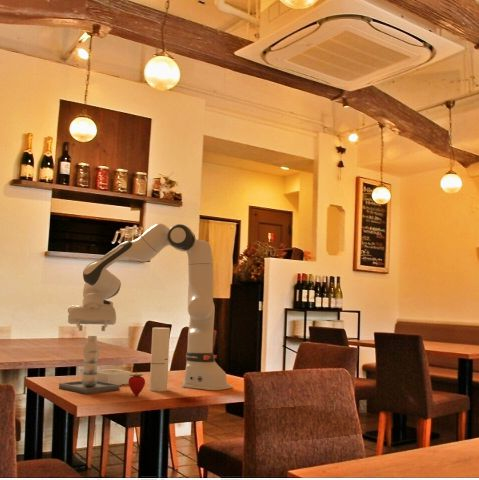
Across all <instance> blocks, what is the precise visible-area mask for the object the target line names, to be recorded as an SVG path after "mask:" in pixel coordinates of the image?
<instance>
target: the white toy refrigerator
mask: <svg viewBox="0 0 479 480" xmlns="http://www.w3.org/2000/svg"><path fill="white" fill-rule="evenodd" d="M170 330H171V329H170V327H152V331H151V348H150V353H151V354H150V374H149V390H148V391H151V392H166V391H168V380H169V352H170V334H171V333H170Z"/></svg>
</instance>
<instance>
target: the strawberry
mask: <svg viewBox="0 0 479 480" xmlns="http://www.w3.org/2000/svg"><path fill="white" fill-rule="evenodd" d="M135 371H136V373H134V374H131V375H130V376H131V377H130V378H129V384H128V387H129V389H130V390H131V392H132V393H133V395H134V396H135V397H138V396H139V395H140V393H142V390H143V389H144V388H145V386H146V385H145V384H146V379H145V378H144V377H143V376H144V374H142V373H141V374H140V373H139V374H138V371H137V370H135Z"/></svg>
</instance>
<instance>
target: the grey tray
mask: <svg viewBox="0 0 479 480" xmlns="http://www.w3.org/2000/svg"><path fill="white" fill-rule="evenodd" d="M120 386H121V385H118V384H113V383H108V382H102V381H98V383H97V385H95V386H91V387H88V386H84V385H83V384H82V380H77V381H68V382H67V381H66V382H59V383H58V389H59V390H60V389H61V390H65V391H71V392H76V393H79V394H84V395H88V394H89V395H90V394H91V395H92V394H97V393H105V392H113V391H119V390H120Z"/></svg>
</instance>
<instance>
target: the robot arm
mask: <svg viewBox="0 0 479 480" xmlns="http://www.w3.org/2000/svg"><path fill="white" fill-rule="evenodd" d="M168 246H171V247H173V248H174V249H175V250H177V251H180V252H186V254H187V258H188V260H187V261H188V262H187V263H188V264H187V265H188V267H187V269H188V273H187V274H188V288H187V313H188V314H189V325H188V330H187V331H188V332H187V350H186V353H185V361H186V363H185V364H186V365H185V371H184V375H183V381H182V384H181V385H182V387H183V388H189V389H198V390H207V391H221V390H228V389H232V388H233V385H232V384H229V383H228V381H227V379H228V378H227V377H228V376H227V373H226V371H224V370H223V368H222V367H220V366H219V365H218V363H217V362H216V359H217V358H218V357H217V356H218V355H217V354H214V352H213V345H214V344H213V343H214V341H213V340H214V328H215V327H214V326H215V313H216V312H215V308H216V307H215V303H214V260H213V259H214V258H213V253H212V247H211V244H210V242H208V241H207V240H203V239H197V238H196V235H195V233H194V232H193V230H192V229H191V228H190V227H188V226H187V225H185V224H181V223H180V224H179V223H178V224H175V225H173V226H171V227H170V228H169V227H168V226H167V225H166V224H163V223H160V222H159V223H156V224H154V225H152V226H151V227H149V229H147V230H146V231H145V232H143V233H142V234H141V235H140V236H139V237H138V238H136V239H134V240H131V241H129V240H127V241H124V242H121V243H120V244H119V245H117V246H116V247H114V248H112V249H111V250H110V251H108V252H107V253H106V254H104V255H102V256H101V257H100V258H98V259H97V260H95V261H92V262H90V263H89V264H88V265H87V266H85V267H84V269H83V271H82V278H83V281H84V282H85V283H84V285H83V289H82V297H83V298H82V305H71V306H69V307H68V309H67V314H68V317H67V323H69V324H70V325H76V327H77V328H78V332H81V331H83V325H101V330H100V331H101V332H106V328H107V327H108V325H109V326H111V325H112V326H113V325H115V324H116V322H117V314H116V313H117V312H116V309H115V308H114V302H113V301H111V300H108V299H111V298H113V297H115V296H117V295H118V294H119V291H120V289H121V286H122V285H121V284H122V283H121V279H119V278H118V277H117V276H116V275H114V274H113V273H112V272H111V271H109V270H108V268H109V267H111V266H112V265H114V264H115V263H117V262H118V261H119V260H120V259H123V258H125V259H127V258H129V259H133V260H136V261H139V262H148V261H151V260H152V259H154V258H155V257H156V256H157V255H158V254H160V252H162V250H163V249H164V248H166V247H168Z"/></svg>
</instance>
